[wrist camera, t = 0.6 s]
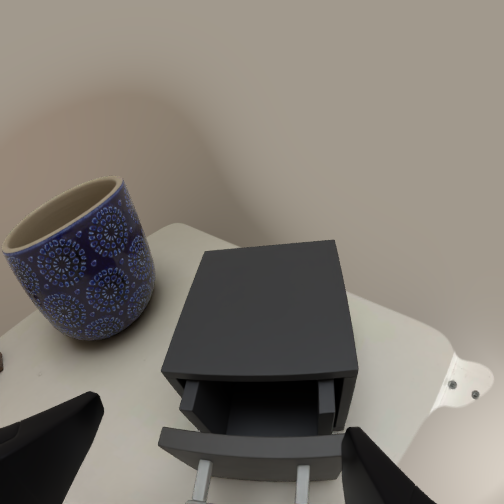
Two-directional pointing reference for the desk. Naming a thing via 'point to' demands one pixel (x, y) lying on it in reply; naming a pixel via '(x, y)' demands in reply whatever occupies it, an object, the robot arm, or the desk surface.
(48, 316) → the planter
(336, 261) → the cabinet
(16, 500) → the robot arm
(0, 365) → the walnut block
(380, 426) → the desk surface
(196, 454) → the drawer
